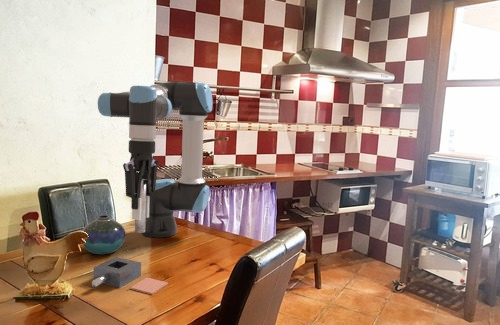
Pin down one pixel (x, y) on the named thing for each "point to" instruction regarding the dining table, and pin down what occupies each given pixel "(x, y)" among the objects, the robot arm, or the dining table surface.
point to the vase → (104, 235)
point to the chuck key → (142, 207)
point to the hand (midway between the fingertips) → (140, 217)
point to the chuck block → (116, 272)
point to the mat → (149, 286)
